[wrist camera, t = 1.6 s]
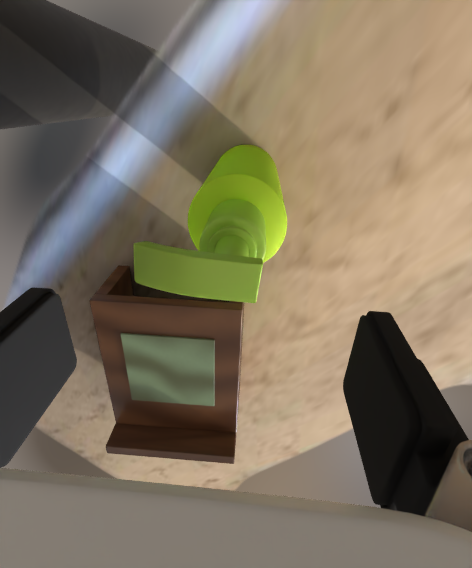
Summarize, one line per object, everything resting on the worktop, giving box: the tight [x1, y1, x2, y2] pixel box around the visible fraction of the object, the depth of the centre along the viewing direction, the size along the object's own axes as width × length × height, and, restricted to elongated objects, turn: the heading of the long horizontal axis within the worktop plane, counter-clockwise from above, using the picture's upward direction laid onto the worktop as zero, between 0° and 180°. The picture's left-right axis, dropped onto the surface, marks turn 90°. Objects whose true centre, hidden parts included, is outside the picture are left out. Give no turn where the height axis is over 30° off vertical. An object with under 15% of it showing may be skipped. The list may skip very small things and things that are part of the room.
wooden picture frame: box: [90, 266, 244, 464], centre depth 36 cm, size 18×14×10 cm
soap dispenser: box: [134, 145, 287, 303], centre depth 22 cm, size 6×7×20 cm
